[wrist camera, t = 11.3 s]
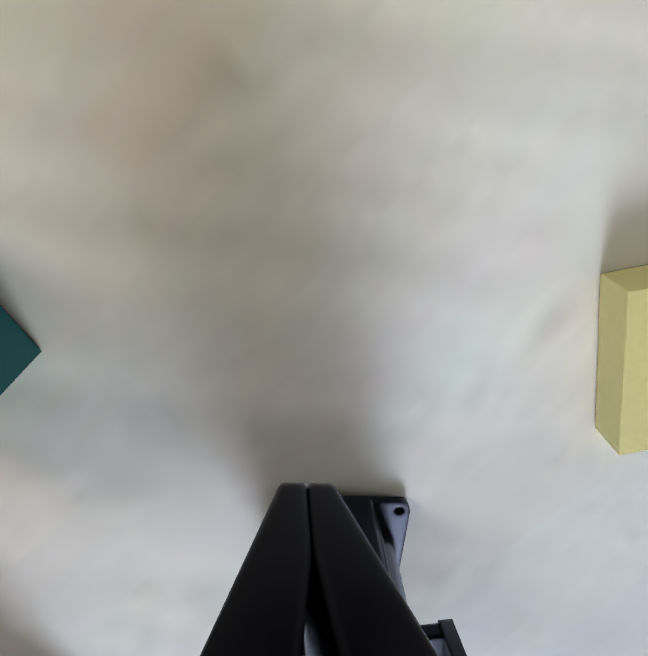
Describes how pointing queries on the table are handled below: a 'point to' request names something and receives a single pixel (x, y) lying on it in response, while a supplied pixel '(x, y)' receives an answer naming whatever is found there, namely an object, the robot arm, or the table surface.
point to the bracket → (13, 350)
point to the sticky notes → (623, 360)
